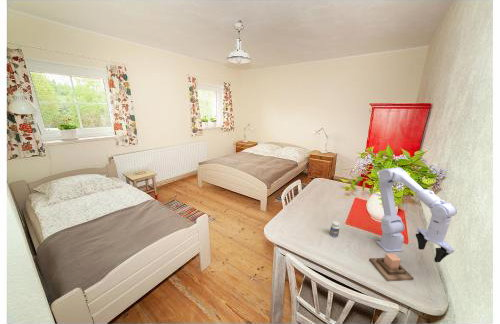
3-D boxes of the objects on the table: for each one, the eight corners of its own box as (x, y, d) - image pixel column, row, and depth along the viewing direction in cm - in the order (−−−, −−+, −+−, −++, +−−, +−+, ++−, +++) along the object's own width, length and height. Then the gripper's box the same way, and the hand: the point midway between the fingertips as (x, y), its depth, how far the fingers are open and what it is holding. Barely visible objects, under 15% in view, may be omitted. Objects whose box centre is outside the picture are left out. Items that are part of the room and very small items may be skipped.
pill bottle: (329, 236, 112) (331, 224, 110) (329, 231, 117) (331, 219, 114) (338, 238, 111) (340, 225, 108) (338, 233, 115) (340, 221, 113)
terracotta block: (390, 263, 91) (393, 253, 90) (397, 270, 88) (400, 260, 86) (383, 264, 91) (385, 253, 90) (389, 271, 87) (392, 260, 86)
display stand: (391, 259, 96) (393, 254, 95) (412, 279, 84) (414, 274, 84) (369, 260, 95) (370, 255, 94) (387, 281, 84) (388, 276, 83)
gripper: (413, 219, 89) (406, 244, 93) (446, 240, 75) (436, 268, 79) (427, 219, 90) (420, 243, 93) (462, 240, 76) (452, 267, 80)
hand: (428, 255), depth 86 cm, fingers open, 7 cm apart
